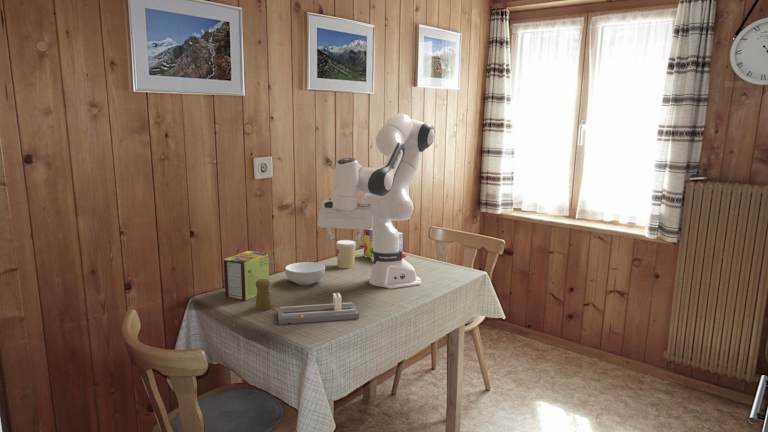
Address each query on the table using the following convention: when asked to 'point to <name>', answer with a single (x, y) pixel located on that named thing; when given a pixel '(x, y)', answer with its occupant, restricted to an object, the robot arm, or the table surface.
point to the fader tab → (337, 301)
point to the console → (316, 313)
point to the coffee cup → (345, 253)
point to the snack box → (369, 242)
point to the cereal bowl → (305, 272)
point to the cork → (263, 295)
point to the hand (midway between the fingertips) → (344, 240)
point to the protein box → (245, 274)
